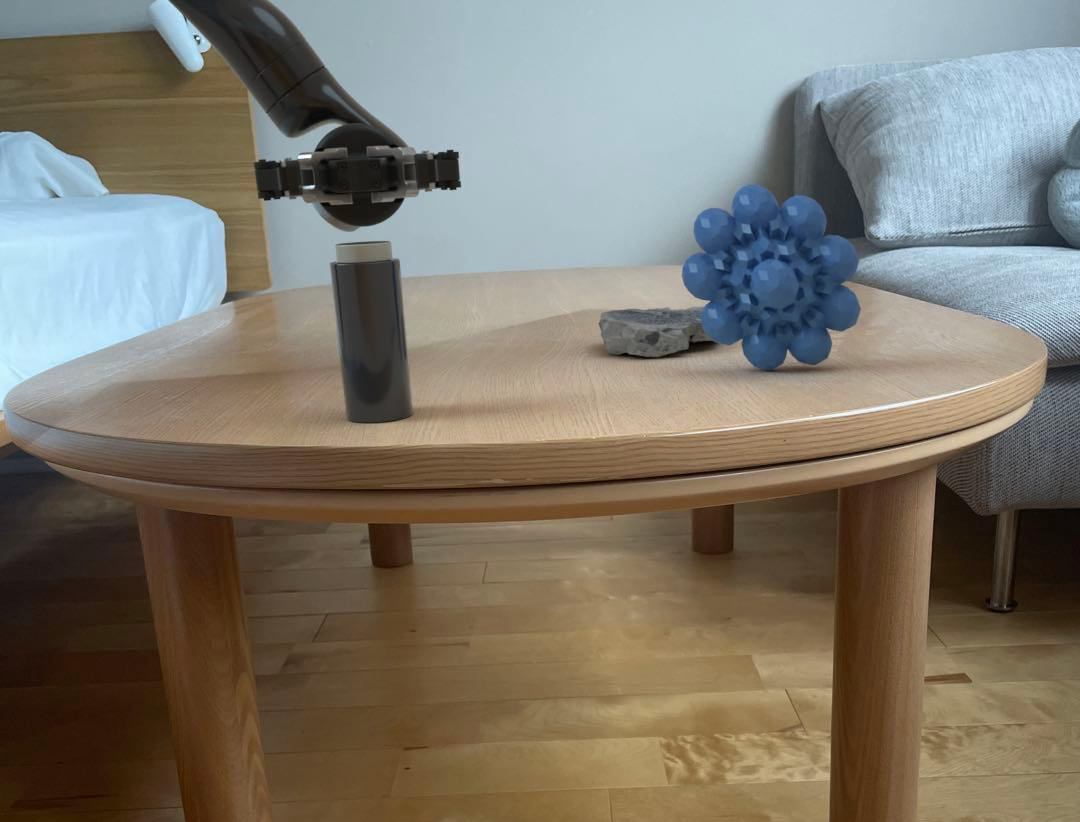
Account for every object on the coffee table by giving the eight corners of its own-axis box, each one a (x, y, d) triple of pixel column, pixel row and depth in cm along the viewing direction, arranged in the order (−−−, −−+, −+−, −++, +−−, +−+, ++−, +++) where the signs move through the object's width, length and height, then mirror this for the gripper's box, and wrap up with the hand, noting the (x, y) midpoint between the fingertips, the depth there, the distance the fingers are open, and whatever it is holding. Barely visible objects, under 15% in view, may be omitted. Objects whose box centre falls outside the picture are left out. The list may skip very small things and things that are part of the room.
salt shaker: (345, 425, 61) (326, 246, 57) (346, 411, 64) (328, 243, 61) (414, 419, 61) (399, 242, 58) (411, 406, 65) (397, 239, 62)
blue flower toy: (681, 384, 68) (680, 189, 64) (682, 366, 74) (681, 187, 70) (867, 380, 66) (878, 179, 62) (852, 361, 72) (861, 178, 68)
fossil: (684, 321, 74) (569, 289, 79) (671, 377, 76) (559, 342, 81) (749, 317, 84) (642, 288, 88) (736, 366, 85) (632, 336, 90)
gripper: (263, 130, 82) (239, 118, 67) (444, 121, 84) (462, 108, 69) (276, 230, 84) (256, 240, 69) (451, 219, 86) (470, 227, 71)
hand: (358, 174), depth 69 cm, fingers open, 8 cm apart
